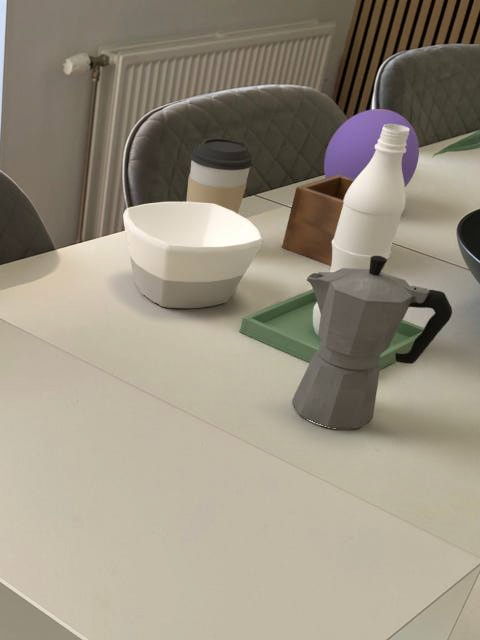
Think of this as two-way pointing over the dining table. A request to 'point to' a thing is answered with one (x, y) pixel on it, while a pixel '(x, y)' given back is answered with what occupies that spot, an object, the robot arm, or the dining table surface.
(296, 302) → the tray
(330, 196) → the wooden box
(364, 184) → the water bottle
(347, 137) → the decorative ball
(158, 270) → the bowl
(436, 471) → the dining table surface
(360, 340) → the coffeepot
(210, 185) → the coffee cup
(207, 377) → the dining table surface
